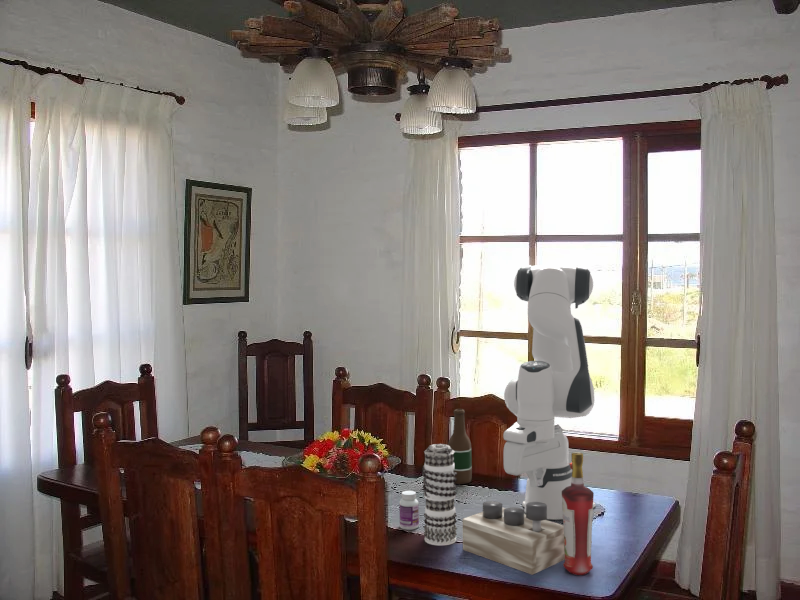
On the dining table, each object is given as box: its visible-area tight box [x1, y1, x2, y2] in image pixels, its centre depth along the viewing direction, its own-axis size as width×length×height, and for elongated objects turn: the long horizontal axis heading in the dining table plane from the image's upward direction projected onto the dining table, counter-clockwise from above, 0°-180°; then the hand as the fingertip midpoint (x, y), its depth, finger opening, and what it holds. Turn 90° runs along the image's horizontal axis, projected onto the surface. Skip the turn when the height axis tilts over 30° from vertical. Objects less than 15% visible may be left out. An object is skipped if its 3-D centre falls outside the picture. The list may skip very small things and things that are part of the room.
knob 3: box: [525, 502, 548, 532], centre depth 187 cm, size 5×5×8 cm
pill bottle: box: [398, 490, 420, 531], centre depth 213 cm, size 5×5×10 cm
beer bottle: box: [447, 408, 473, 485], centre depth 256 cm, size 8×8×24 cm
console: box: [461, 506, 565, 576], centre depth 192 cm, size 14×22×8 cm, turn 42°
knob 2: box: [504, 506, 525, 526], centre depth 192 cm, size 5×5×8 cm
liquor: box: [562, 451, 595, 576], centre depth 181 cm, size 7×7×28 cm
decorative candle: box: [421, 443, 458, 547], centre depth 203 cm, size 9×9×25 cm
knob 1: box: [482, 500, 503, 519], centre depth 197 cm, size 5×5×8 cm
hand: (536, 486), depth 186 cm, fingers closed
